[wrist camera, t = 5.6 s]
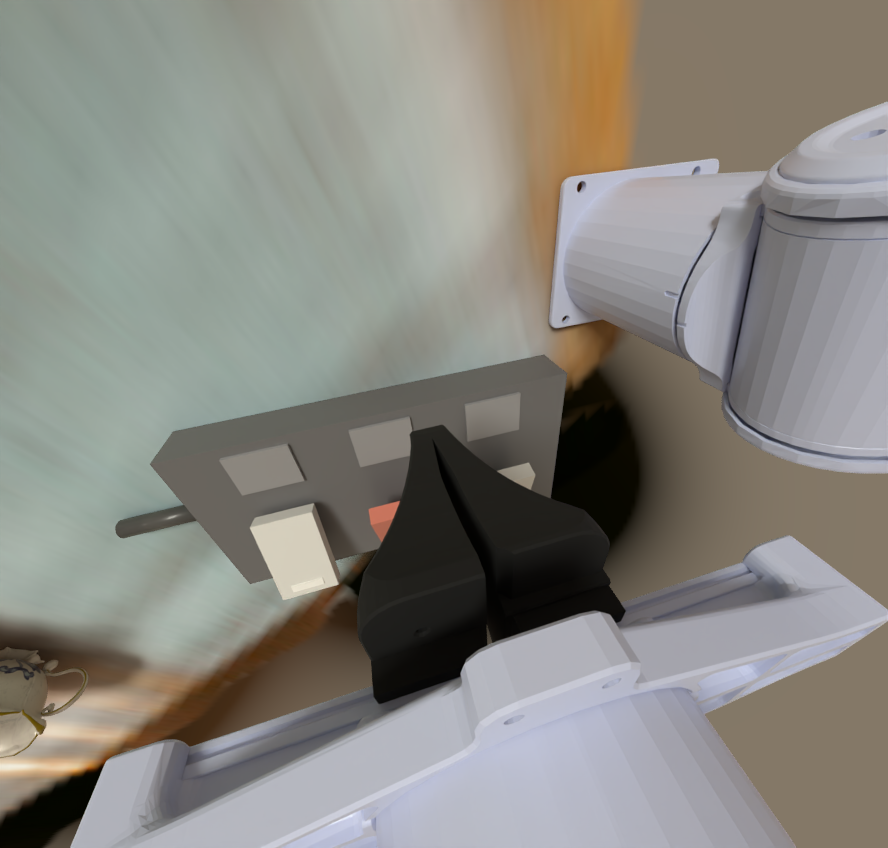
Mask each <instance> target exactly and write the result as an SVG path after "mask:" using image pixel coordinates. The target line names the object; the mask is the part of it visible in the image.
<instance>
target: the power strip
mask: <svg viewBox="0 0 888 848" xmlns="http://www.w3.org/2000/svg"><path fill="white" fill-rule="evenodd" d="M566 378H567V373H566V372H565V371H564V370H562V369H561V368H560V367H559V366H557V365H556V364H555V363H554V362H552V361H551V360H550V359H549V358H547V357H546V356H545V355H541V356H536V357H531V358H526V359H522V360H517V361H512V362H507V363H502V364H497V365H493V366H488V367H483V368H478V369H473V370H469V371H464V372H459V373H454V374H449V375H444V376H440V377H435V378H430V379H425V380H420V381H415V382H411V383H406V384H401V385H396V386H391V387H386V388H382V389H377V390H372V391H367V392H362V393H357V394H353V395H348V396H343V397H338V398H333V399H329V400H324V401H319V402H314V403H309V404H304V405H300V406H295V407H290V408H285V409H280V410H275V411H271V412H266V413H261V414H256V415H251V416H246V417H242V418H237V419H232V420H227V421H222V422H217V423H213V424H208V425H203V426H198V427H193V428H189V429H184V430H179V431H174V432H172V434H171V435H170V437H169V438H168V440H167V441H166V442H165V444H164V445H163V447H162V448H161V449H160V451H159V452H158V454H157V455H156V456H155V458H154V459H153V461H152V462H151V463H150V465H151V466H152V467H153V469H154V470H155V471H156V472H157V473H158V475H159V476H160V477H161V478H162V479H163V481H164V482H165V483H166V484H167V485H168V487H169V488H170V489H171V490H172V491H173V492H174V494H175V495H176V496H177V497H178V498H179V500H180V501H181V502H182V503H183V504H184V505H183V506H179V507H174V508H170V509H166V510H162V511H157V512H153V513H149V514H145V515H141V516H136V517H132V518H128V519H124V520H120V521H119V522H118V523H117V525H116V534H117V535H118V536H119V537H120V538H127V537H131V536H135V535H139V534H143V533H147V532H151V531H155V530H159V529H163V528H168V527H172V526H176V525H180V524H184V523H188V522H192V521H196V520H197V521H198V522H199V524H200V525H201V526H202V527H203V528H204V530H205V531H206V532H207V533H208V534H209V535H210V537H211V538H212V539H213V540H214V541H215V543H216V544H217V545H218V546H219V547H220V549H221V550H222V551H223V552H224V553H225V555H226V556H227V557H228V558H229V559H230V561H231V562H232V563H233V564H234V565H235V567H236V568H237V569H238V570H239V571H240V573H241V574H242V575H243V576H244V577H245V579H246V580H247V581H248V582H249V583H250V584H252V583H256V582H259V581H263V580H267V579H270V578H273V577H272V574H271V572H270V570H269V568H268V566H267V564H266V562H265V560H264V557H263V555H262V553H261V551H260V549H259V547H258V545H257V542H256V540H255V538H254V536H253V534H252V532H251V530H250V526H251V524H252V522H253V520H254V518H256V517H260V516H264V515H268V514H272V513H276V512H280V511H284V510H288V509H292V508H296V507H300V506H304V505H308V504H312V503H314V504H315V507H316V510H317V512H318V515H319V518H320V521H321V523H322V526H323V529H324V532H325V534H326V537H327V540H328V543H329V545H330V548H331V551H332V554H333V556H334V559H335V560H339V559H343V558H346V557H350V556H353V555H357V554H361V553H364V552H368V551H372V550H375V549H379V547H380V545H381V543H382V542H381V540H380V539H379V537H378V535H377V534H376V532H375V531H374V529H373V527H372V526H371V522H370V515H369V509H370V508H374V507H378V506H382V505H386V504H390V503H393V502H397V501H400V499H401V496H402V493H403V489H404V486H405V481H406V477H407V473H408V467H409V460H410V450H411V441H410V435H409V434H410V433H411V432H412V431H416V430H420V429H425V428H429V427H434V426H438V425H444V426H445V427H446V428H447V429H448V430H449V431H450V432H451V433H452V434H453V435H454V436H455V437H456V438H457V439H458V440H459V441H460V442H461V443H462V444H463V445H464V446H465V447H466V448H467V449H469V450H470V451H471V452H472V453H473V454H474V455H476V456H477V457H478V458H479V459H481V460H482V461H483V462H485V463H486V464H487V465H489V466H490V467H492V468H493V469H494V470H496V471H498V470H502V469H506V468H510V467H514V466H517V465H521V464H525V463H529V464H530V466H531V468H532V470H533V471H534V473H535V478H534V481H533V484H532V487H531V490H532V491H534V492H536V493H538V494H541V495H543V496H546V497H548V498H551V491H552V483H553V476H554V468H555V461H556V453H557V446H558V438H559V431H560V423H561V416H562V408H563V401H564V393H565V386H566Z"/></svg>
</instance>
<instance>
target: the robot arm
mask: <svg viewBox="0 0 888 848" xmlns="http://www.w3.org/2000/svg"><path fill="white" fill-rule="evenodd" d="M693 169H695V171H694V174H693V175H692V172H693ZM718 169H719V161H718V160H717V159H707V160H699V161H692V162H683V163H675V164H667V165H659V166H651V167H643V168H635V169H627V170H619V171H611V172H603V173H595V174H587V175H580V176H572V177H568V178H566V179H565V180H564V181H563V183H562V185H561V190H560V201H559V212H558V223H557V235H556V246H555V257H554V269H553V280H552V291H551V303H550V314H549V324H550V326H552V327H554V328H562V327H567V326H572V325H577V324H582V323H587V322H592V321H597V320H602V319H603V320H605V321H607V322H609V323H611V324H613V325H615V326H618V327H620V328H622V329H624V330H626V331H628V332H630V333H632V334H634V335H636V336H638V337H640V338H642V339H645V340H647V341H649V342H651V343H653V344H655V345H657V346H659V347H661V348H664V349H665V350H667V351H670V352H672V353H674V354H676V355H678V356H680V357H682V358H684V359H686V360H688V361H691V362H692V363H694V364H695V365H696V366H697V367H698V369H699V373H700V380H701V381H703V382H705V383H707V384H709V385H711V386H713V387H715V388H716V389H718V390H720V391H722V392H723V396H722V411H723V414H724V418H725V419H726V421H727V423H728V424H729V426H730V427H731V428H732V429H733V430H734V431H735V432H736V433H737V434H738V435H739V436H740V437H742V438H743V439H745V440H746V441H747V442H749V443H750V444H752V445H754V446H755V447H757V448H759V449H761V450H763V451H765V452H767V453H769V454H772V455H774V456H776V457H779V458H782V459H785V460H788V461H791V462H794V463H797V464H801V465H805V466H809V467H813V468H818V469H825V470H831V471H837V472H849V473H888V102H885V103H882V104H880V105H877V106H874V107H871V108H869V109H866V110H863V111H861V112H858V113H856V114H853V115H851V116H848V117H846V118H844V119H841V120H839V121H837V122H835V123H832V124H831V125H829V126H826V127H824V128H823V129H821V130H819V131H817V132H815V133H814V134H812V135H811V136H809V137H808V138H806V139H805V140H804V141H803V142H802V143H800V144H799V145H798V146H797V147H796V148H795V149H794V150H792V151H791V152H790V153H789V154H788V155H786V156H785V157H784V158H782V159H781V160H779V161H778V162H777V163H776V164H775V165H774V166H773V167H772V168H771V169H770V170H769V171H757V172H740V173H721V174H717V172H718ZM579 182H581V184H582V188H581V190H580V192H578V191H577V186H578V184H579ZM564 316H566V319H565V320H564V321H563V322H562V319H563V317H564ZM409 435H410V441H411V450H410V460H409V467H408V473H407V477H406V481H405V486H404V489H403V493H402V496H401V499H400V502H399V505H398V508H397V510H396V513H395V515H394V518H393V520H392V523H391V525H390V527H389V529H388V531H387V533H386V535H385V537H384V539H383V541H382V543H381V545H380V547H379V549H378V550H377V552H376V554H375V555H374V557H373V559H372V560H371V562H370V564H369V565H368V567H367V569H366V570H365V572H364V574H363V579H362V583H361V588H360V593H359V600H358V610H357V622H358V636H359V640H360V642H361V644H362V646H363V647H364V649H365V651H366V652H367V654H368V656H369V657H370V659H371V666H372V682H373V686H371V687H368V688H365V689H362V690H359V691H356V692H353V693H350V694H347V695H344V696H341V697H338V698H335V699H332V700H329V701H326V702H323V703H320V704H317V705H314V706H311V707H308V708H305V709H302V710H300V711H296V712H293V713H290V714H288V715H284V716H281V717H278V718H275V719H273V720H269V721H266V722H263V723H260V724H257V725H255V726H252V727H248V728H245V729H242V730H239V731H236V732H234V733H231V734H227V735H225V736H222V737H219V738H215V739H213V740H209V741H207V742H204V743H201V744H198V745H195V746H192V747H189V746H188V745H187V744H185V743H184V742H182V741H179V740H164V741H159V742H156V743H152V744H149V745H146V746H143V747H140V748H137V749H134V750H131V751H128V752H125V753H122V754H119V755H116V756H113V757H111V758H110V759H109V760H107V761H106V763H105V765H104V768H103V770H102V772H101V775H100V777H99V780H98V782H97V784H96V787H95V789H94V792H93V794H92V796H91V799H90V801H89V804H88V806H87V808H86V811H85V813H84V816H83V818H82V820H81V823H80V825H79V828H78V830H77V833H76V835H75V837H74V840H73V842H72V845H71V847H70V848H797V847H796V846H795V844H794V843H793V841H792V840H791V838H790V837H789V836H788V834H787V833H786V831H785V830H784V828H783V827H782V825H781V824H780V823H779V821H778V820H777V818H776V817H775V815H774V814H773V812H772V811H771V810H770V808H769V807H768V805H767V804H766V802H765V801H764V800H763V798H762V797H761V795H760V794H759V792H758V791H757V790H756V788H755V787H754V785H753V784H752V782H751V781H750V779H749V778H748V777H747V775H746V774H745V772H744V771H743V770H742V768H741V766H740V765H739V764H738V762H737V761H736V759H735V758H734V756H733V755H732V754H731V752H730V751H729V749H728V748H727V746H726V745H725V744H724V742H723V741H722V739H721V738H720V736H719V735H718V734H717V732H716V731H715V729H714V728H713V726H712V725H711V724H710V722H709V721H708V719H707V718H706V716H705V715H704V714H706V713H708V712H710V711H713V710H715V709H717V708H719V707H721V706H724V705H725V704H728V703H730V702H732V701H734V700H737V699H738V698H741V697H743V696H745V695H747V694H749V693H752V692H754V691H756V690H758V689H760V688H763V687H765V686H767V685H769V684H772V683H774V682H776V681H778V680H780V679H782V678H784V677H787V676H789V675H792V674H794V673H796V672H799V671H801V670H803V669H806V668H808V667H810V666H813V665H815V664H818V663H820V662H823V661H825V660H827V659H829V658H832V657H835V656H836V655H838V654H839V653H841V652H842V651H844V650H845V649H847V648H848V647H850V646H851V645H853V644H854V643H856V642H857V641H859V640H860V639H862V638H863V637H865V636H866V635H868V634H869V633H871V632H872V631H874V630H875V629H877V628H878V627H880V626H881V625H883V624H884V623H886V622H887V621H888V610H887V609H886V608H885V607H883V606H882V605H881V604H880V603H878V602H877V601H876V600H874V599H873V598H872V597H870V596H869V595H868V594H866V593H865V592H864V591H862V590H861V589H860V588H858V587H857V586H856V585H855V584H853V583H852V582H851V581H849V580H848V579H847V578H845V577H844V576H843V575H841V574H840V573H839V572H837V571H836V570H835V569H834V568H832V567H831V566H830V565H828V564H827V563H826V562H824V561H823V560H822V559H820V558H819V557H818V556H816V555H815V554H814V553H812V552H811V551H810V550H808V549H807V548H806V547H805V546H803V545H802V544H801V543H799V542H798V541H797V540H795V539H794V538H793V537H792V536H783V537H780V538H777V539H774V540H771V541H768V542H765V543H762V544H759V545H757V546H755V547H754V548H752V549H751V550H750V551H749V552H748V553H747V554H746V555H745V557H744V559H743V562H741V563H739V564H736V565H732V566H729V567H727V568H723V569H720V570H717V571H714V572H712V573H709V574H706V575H702V576H699V577H697V578H693V579H691V580H688V581H685V582H682V583H679V584H676V585H673V586H670V587H667V588H664V589H661V590H658V591H655V592H652V593H649V594H646V595H643V596H640V597H637V598H634V599H631V600H628V601H625V602H622V603H620V601H619V600H618V598H617V597H616V595H615V594H614V593H613V591H612V590H611V588H610V587H609V585H610V579H609V578H608V576H607V575H606V573H605V572H604V570H603V566H604V563H605V560H606V557H607V554H608V551H609V544H610V542H609V540H608V537H607V536H606V534H605V533H604V532H603V531H602V529H601V528H600V527H599V526H598V524H597V523H596V522H595V521H594V520H593V519H592V518H591V517H590V516H589V515H588V514H587V513H586V512H585V511H584V510H583V509H580V508H577V507H574V506H571V505H568V504H565V503H561V502H558V501H556V500H553V499H551V498H548V497H546V496H543V495H541V494H538V493H536V492H534V491H532V490H530V489H528V488H526V487H524V486H522V485H520V484H518V483H516V482H514V481H512V480H511V479H509V478H507V477H505V476H504V475H502V474H501V473H499V472H497V471H496V470H494V469H493V468H492V467H490V466H489V465H487V464H486V463H485V462H483V461H482V460H481V459H479V458H478V457H477V456H476V455H474V454H473V453H472V452H471V451H470V450H469V449H467V448H466V447H465V446H464V445H463V444H462V443H461V442H460V441H459V440H458V439H457V438H456V437H455V436H454V435H453V434H452V433H451V432H450V431H449V430H448V429H447V428H446V427H445V426H444V425H438V426H434V427H429V428H425V429H420V430H416V431H412V432H411V433H410V434H409ZM486 624H487V625H488V629H489V632H490V635H491V639H492V644H490V645H487V631H486Z"/></svg>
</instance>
